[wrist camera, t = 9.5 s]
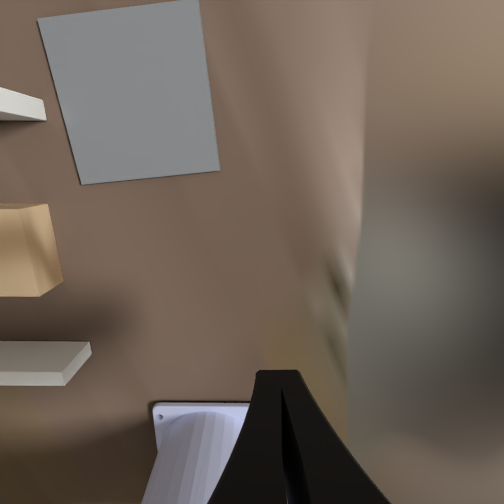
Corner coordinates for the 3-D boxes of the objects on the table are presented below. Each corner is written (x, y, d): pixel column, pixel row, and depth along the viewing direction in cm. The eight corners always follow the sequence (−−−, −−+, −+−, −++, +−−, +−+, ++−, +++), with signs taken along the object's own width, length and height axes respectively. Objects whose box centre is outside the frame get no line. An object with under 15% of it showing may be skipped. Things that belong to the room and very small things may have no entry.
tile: (66, 279, 19) (39, 296, 16) (-10, 279, 19) (-49, 296, 16) (50, 203, 17) (18, 209, 15) (-32, 202, 17) (-78, 208, 15)
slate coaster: (221, 170, 17) (219, 170, 16) (89, 183, 17) (81, 184, 16) (201, 7, 14) (198, -3, 14) (48, 25, 15) (37, 18, 14)
